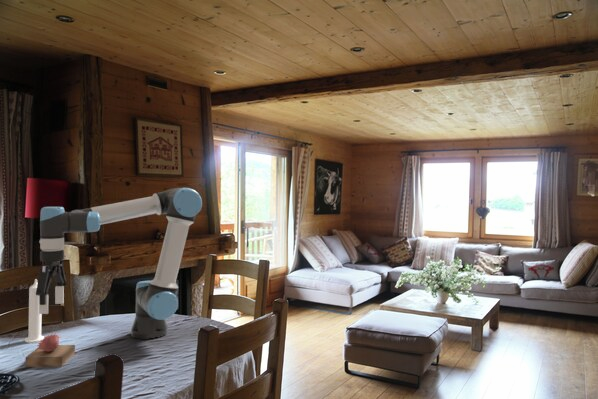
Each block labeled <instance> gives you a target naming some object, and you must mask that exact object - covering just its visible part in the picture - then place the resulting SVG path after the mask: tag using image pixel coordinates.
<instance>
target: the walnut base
mask: <svg viewBox="0 0 598 399" xmlns="http://www.w3.org/2000/svg"><path fill="white" fill-rule="evenodd" d="M74 355H76V344H58V346H57V348H56V349H55V350H53V351H49V352H48V351H45V350H39V348H38V347H37V348H36V349H35V350H33V351H31V352H30V353H29V354H28V355H26V356H25V363H24V364H25V365H24V366H25V368H40V367H41V368H42V367H43V368H44V367H45V368H47V367H49V368H51V367H63V366H64V365H66V363H67V362H68V361H69V360H70V359H72V357H73V356H74Z"/></svg>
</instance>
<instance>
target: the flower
mask: <svg viewBox="0 0 598 399" xmlns="http://www.w3.org/2000/svg"><path fill="white" fill-rule="evenodd" d="M60 338H61V337H60V335H59V333H58V334H57V333H53V334H48V335H46V336H44V339H43V340H41V341H40V342H37V343H38V344H37V348H39V350H45V351H48V352H49V351H53V350H55V349H56V348H57V346H58V345H60V343H59V342H60Z"/></svg>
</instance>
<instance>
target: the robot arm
mask: <svg viewBox="0 0 598 399" xmlns="http://www.w3.org/2000/svg"><path fill="white" fill-rule="evenodd" d="M202 207H203V200H202V197H201V195H200V193H199V192H197V191H196V190H195V189H193V188H190V187H174V188H170V189H167V190H165V191H161V192H155V193H153V194H152V196H151V195H150V196H147V197H142V198H135V199H130V200H124V201H121V202H115V203H109V204H103V205H98V206H93V207H88V208H83V209H73V210H71V211H65V208H64V207H63V206H43V207H42V208H41V209H40V219H39V228H40V229H39V230H40V233H39V234H40V236H39V238H40V239H39V241H38V242H39V244H40V247H39V248H40V252H39V260H40V262H44V265H40V268H39V275H38V279H37V283H38V285H37V290H36V295H39V314H42V315H48V314H49V294H48V292H49V289H50V286H51V283H52V280H54V283H55V284H56V286H54V287H55V290H54V291H55V292H54V298H55V301H54V302H55V303H54V304H55V305H59V304H60V305H61V304H62V305H64V303H65V299H64V298H65V293H64V290H65V286H67V285H68V284H67V278H66V273H65V268H64V259H65V250H64V249H65V233H69V234H70V233H93V232H94V233H95V232H98V231H100V228H101V225H105V224H111V223H116V222H121V221H126V220H131V219H135V218H140V217H145V216H150V215H157V216H161V215H165V216H166V217H165V218H166V219H167V222H168V223H167V227H166V230H165V235H164V238H163V241H162V242H163V243H162V247H161V251H160V255H159V259H158V262H157V267H156V272H155V275H154V278H153V279H151V280H143V281H141V280H140V281H138V282H137V283H136V287H135V318H134V320H133V324H132V327H131V329H130V336H131V338H134V339H138V338H139V340H150V339H149V338H153V339H156V338H155V337H158V338H161V337H160V336H162V335H164V336H166V335H167V334H168V333H167V332H169V331H168V330H169V329H168V325H167V324H168V323H167V321H166V320H167V319H169V318H171V317H173V315H174V314H175V313H176V311H177V309H178V307H179V300H178V296H177V294H178V290H179V286H178V284H177V278H178V274H179V270H180V266H181V262H182V258H183V253H184V249H185V245H186V241H187V237H188V233H189V229H190V226H191V225H192V224H194V223H195V219H196V215H198V214H199V212H201V211H202ZM166 333H167V334H166ZM165 334H166V335H165ZM162 337H163V336H162Z"/></svg>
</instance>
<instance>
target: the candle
mask: <svg viewBox="0 0 598 399" xmlns="http://www.w3.org/2000/svg"><path fill="white" fill-rule="evenodd" d="M37 285H38V279H37V278H35V279H34V283H33V284H32V285H30V286H29V287H28V288H29V289H28V296H29V297H28V335H27V336H28V337H26V338H24V342H25V343H27V344H34V343H40V342H41V340H43V339H44V337H45V336H44V335H42V322H43V321H42V318H43V317H42V316H43V314H39V295H36V290H37Z"/></svg>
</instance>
